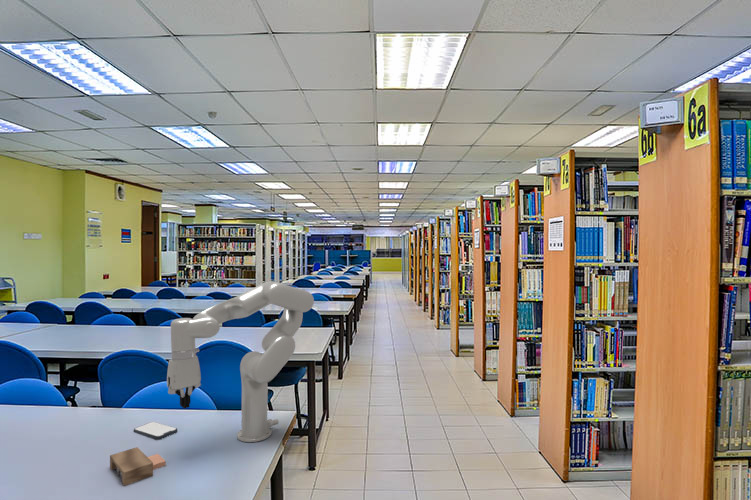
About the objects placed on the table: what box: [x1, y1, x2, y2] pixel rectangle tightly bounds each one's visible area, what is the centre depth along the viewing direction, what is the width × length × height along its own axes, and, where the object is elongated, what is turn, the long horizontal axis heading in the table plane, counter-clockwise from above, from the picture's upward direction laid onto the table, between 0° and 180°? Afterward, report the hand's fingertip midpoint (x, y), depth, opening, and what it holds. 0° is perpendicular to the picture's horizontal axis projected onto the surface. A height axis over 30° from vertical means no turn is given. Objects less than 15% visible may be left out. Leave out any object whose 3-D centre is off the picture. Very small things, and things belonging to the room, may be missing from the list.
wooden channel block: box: [109, 447, 154, 487], centre depth 133 cm, size 8×15×4 cm, turn 46°
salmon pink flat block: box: [147, 453, 167, 471], centre depth 135 cm, size 11×7×2 cm, turn 136°
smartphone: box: [133, 421, 178, 441], centre depth 162 cm, size 9×2×16 cm
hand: (185, 406), depth 145 cm, fingers closed
